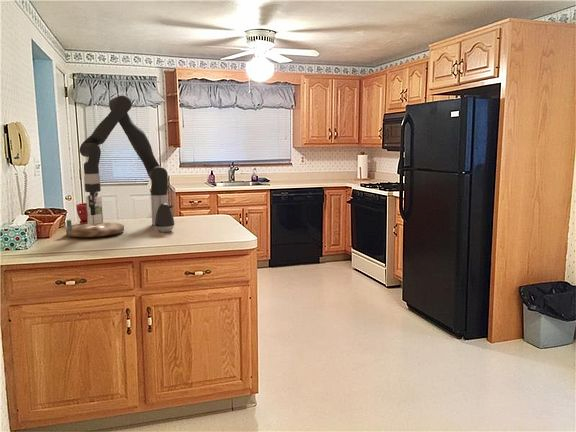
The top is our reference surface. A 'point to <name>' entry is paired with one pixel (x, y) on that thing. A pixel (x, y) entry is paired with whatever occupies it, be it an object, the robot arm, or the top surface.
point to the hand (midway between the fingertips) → (94, 213)
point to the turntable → (93, 229)
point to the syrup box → (98, 210)
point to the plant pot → (82, 213)
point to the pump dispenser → (164, 218)
